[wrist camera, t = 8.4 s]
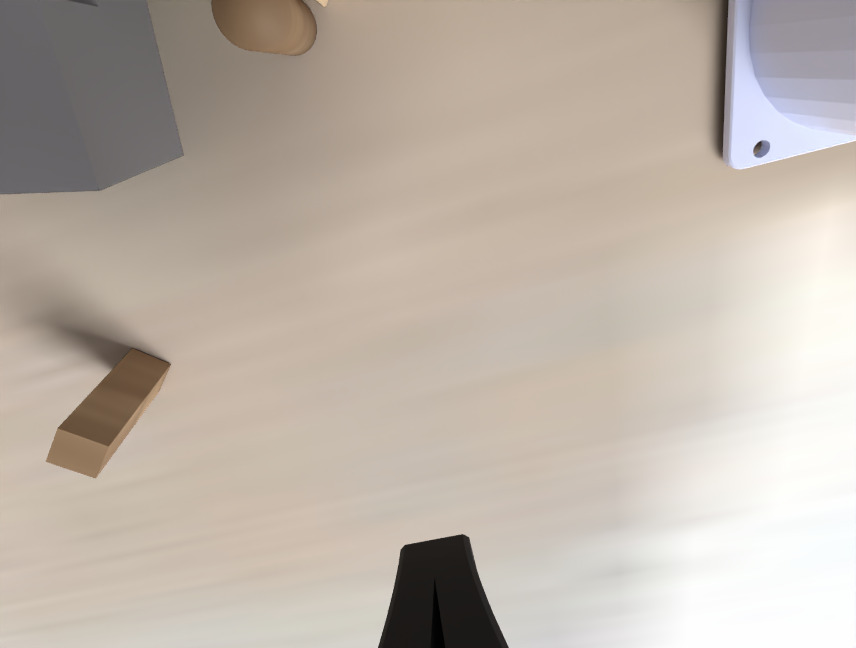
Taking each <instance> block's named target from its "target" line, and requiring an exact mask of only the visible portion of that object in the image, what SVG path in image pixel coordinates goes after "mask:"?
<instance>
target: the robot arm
mask: <svg viewBox="0 0 856 648" xmlns="http://www.w3.org/2000/svg"><path fill="white" fill-rule="evenodd" d="M760 141H761V143H762V146H761V150H760V151H759V152H758V153H757V154H755V155H754V154H753V149H754V146H755V145H756V144H757V143H758V142H760ZM852 141H856V0H729V4H728V30H727V57H726V83H725V110H724V136H723V160H724V162H725V164H726V165H727V166H729V167H732V168H735V169H745V168H749V167H753V166H757V165H761V164H765V163H769V162H773V161H777V160H781V159H785V158H789V157H793V156H797V155H801V154H805V153H809V152H813V151H817V150H821V149H824V148H828V147H832V146H836V145H840V144H844V143H848V142H852ZM378 648H509V647H508V645H507V643H506V641H505V638H504V636H503V634H502V632H501V630H500V627H499V625H498V623H497V621H496V619H495V616H494V614H493V612H492V609H491V607H490V605H489V602H488V600H487V597H486V594H485V592H484V589H483V586H482V584H481V581H480V578H479V575H478V572H477V569H476V564H475V560H474V556H473V552H472V548H471V544H470V539H469V537H467V536H465V535H463V534H461V535H456V536H451V537H445V538H440V539H435V540H429V541H424V542H419V543H413V544H408V545H405V546H404V547H403V548H402V549H401V551H400V558H399V565H398V570H397V575H396V580H395V585H394V589H393V594H392V598H391V602H390V606H389V610H388V614H387V618H386V622H385V625H384V629H383V632H382V636H381V639H380V643H379V646H378Z"/></svg>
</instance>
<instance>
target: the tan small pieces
mask: <svg viewBox="0 0 856 648" xmlns="http://www.w3.org/2000/svg"><path fill="white" fill-rule="evenodd" d="M315 1H316V2H318V3H319V4H321V5H322V6H324V7H326V5H327V3H328V0H315ZM212 11H213V16H214V19H215V21H216V24H217V26H218V27H219V29H220V31H221V32H222V34H223V35H224V36H225V37H226V38H227V39H228V40H229V41H230V42H231V43H233V44H234V45H236V46H238V47H239V48H242V49H245V50H249V51H258V52H266V53H275V54H284V55H301V54H303V53H305V52H307V51H308V50H309V49H310V48H311V47H312V45H313V44H314V42H315V39H316V34H317V26H316V21H315V18H314V15H313V13H312V11H311V10H310V8H309V7H308V6H307V5H306V4H305V3H304V2H302V1H301V0H212ZM170 365H171V364H169V363H167V362H164V361H162V360H159V359H157V358H155V357H152V356H150V355H147V354H145V353H143V352H140V351H138V350H135V349H133V348H132V349H131V350H130V351H129V352H128V354H127V355H126V356H125V357H124V358H123V359H122V360H121V361H120V362H119V363H118V364H117V365H116V366H115V367H114V369H113V370H112V371H111V372H110V373H109V374H108V375H107V376H106V377H105V378H104V379H103V380H102V381H101V382H100V384H99V385H98V386H97V387H96V388H95V389H94V390H93V391H92V392H91V393H90V394H89V395H88V396H87V397H86V399H85V400H84V401H83V402H82V403H81V404H80V405H79V406H78V407H77V408H76V409H75V410H74V411H73V412H72V414H71V415H70V416H69V417H68V418H67V419H66V420H65V421H64V422H63V423H62V424H61V425H60V426H59V427H58V429H57V432H56V434H55V437H54V440H53V443H52V446H51V448H50V451H49V454H48V457H47V460H46V462H49V463H52V464H54V465H57V466H60V467H63V468H66V469H69V470H72V471H75V472H78V473H81V474H84V475H87V476H90V477H93V478H96V477H97V476H98V474H99V473H100V472H101V470H102V469H103V468H104V466H105V465H106V464H107V462H108V461H109V459H110V458H111V457H112V455H113V454H114V453H115V451H116V450H117V448H118V447H119V446H120V444H121V443H122V442H123V440H124V439H125V437H126V436H127V435H128V433H129V432H130V431H131V429H132V428H133V426H134V425H135V424H136V422H137V421H138V420H139V418H140V417H141V415H142V414H143V413H144V411H145V410H146V409H147V407H148V406H149V404H150V403H151V402H152V400H153V399H154V398H155V396H156V395H157V393H158V392H159V390H160V388H161V386H162V383H163V381H164V379H165V377H166V374H167V372H168V370H169V368H170Z"/></svg>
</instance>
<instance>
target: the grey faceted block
mask: <svg viewBox="0 0 856 648" xmlns="http://www.w3.org/2000/svg"><path fill="white" fill-rule="evenodd" d="M181 156H184V154H183V150H182V146H181V142H180V138H179V134H178V130H177V125H176V121H175V117H174V113H173V109H172V105H171V100H170V96H169V92H168V88H167V84H166V80H165V76H164V71H163V67H162V63H161V59H160V55H159V51H158V47H157V42H156V38H155V34H154V30H153V26H152V22H151V17H150V13H149V9H148V5H147V1H146V0H0V194H22V193H49V192H77V191H100V190H102V189H105V188H107V187H110V186H112V185H114V184H117V183H119V182H122V181H124V180H126V179H129V178H131V177H133V176H136V175H138V174H141V173H143V172H145V171H148V170H150V169H153V168H155V167H157V166H160V165H162V164H164V163H167V162H169V161H172V160H174V159H176V158H179V157H181Z"/></svg>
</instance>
